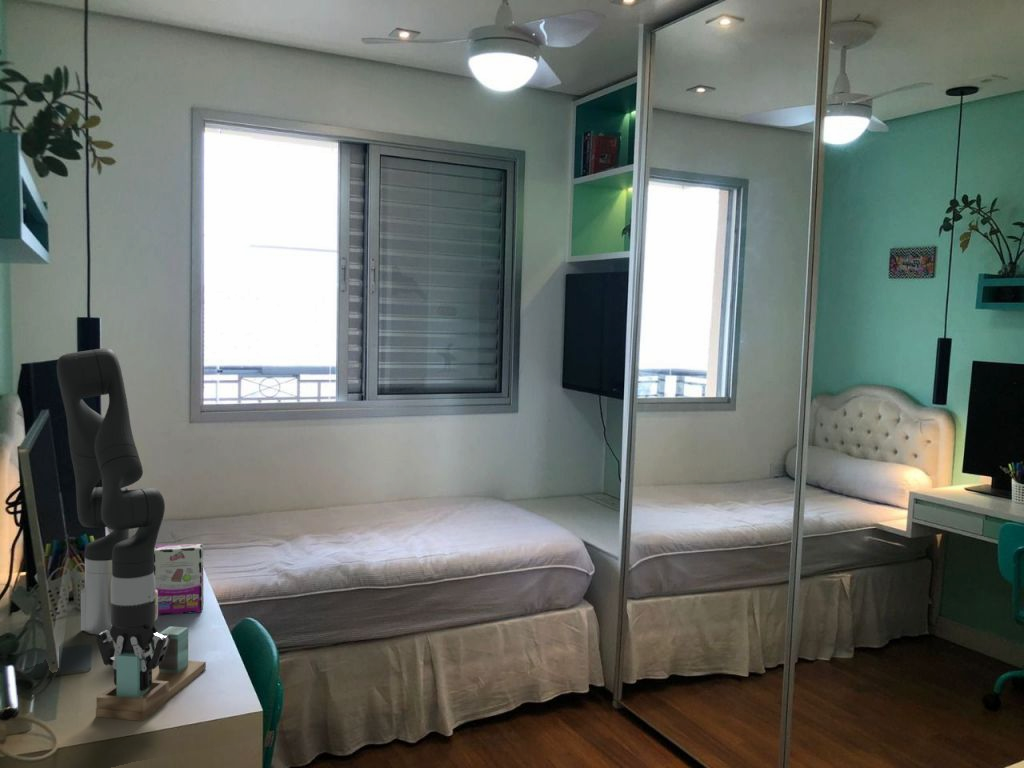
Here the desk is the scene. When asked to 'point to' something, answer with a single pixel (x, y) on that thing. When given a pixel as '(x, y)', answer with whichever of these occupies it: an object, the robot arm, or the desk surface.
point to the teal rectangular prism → (129, 676)
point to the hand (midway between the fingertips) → (133, 687)
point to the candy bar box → (179, 578)
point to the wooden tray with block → (155, 682)
